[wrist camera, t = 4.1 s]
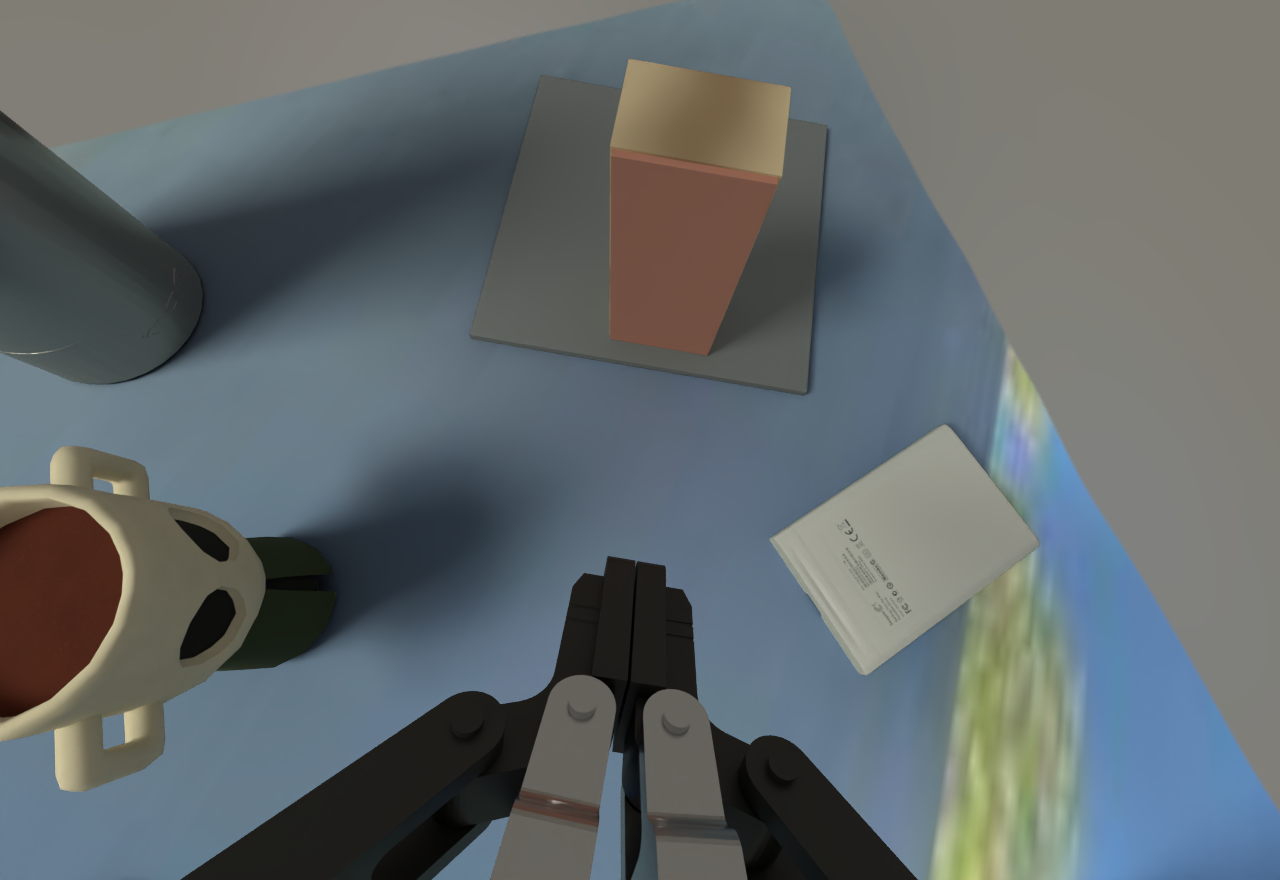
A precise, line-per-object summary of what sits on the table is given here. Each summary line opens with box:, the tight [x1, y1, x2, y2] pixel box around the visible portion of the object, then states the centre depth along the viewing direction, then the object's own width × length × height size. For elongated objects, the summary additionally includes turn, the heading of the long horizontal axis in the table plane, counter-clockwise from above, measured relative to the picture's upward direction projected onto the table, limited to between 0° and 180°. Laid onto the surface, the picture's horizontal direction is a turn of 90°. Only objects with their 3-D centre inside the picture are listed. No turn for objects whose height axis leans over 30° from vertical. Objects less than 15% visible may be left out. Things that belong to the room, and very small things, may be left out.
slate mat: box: [469, 75, 827, 395], centre depth 35 cm, size 20×20×1 cm
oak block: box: [609, 59, 791, 356], centre depth 26 cm, size 6×4×14 cm
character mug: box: [0, 446, 336, 791], centre depth 21 cm, size 11×7×13 cm, turn 17°
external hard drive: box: [769, 424, 1040, 675], centre depth 30 cm, size 2×8×12 cm
